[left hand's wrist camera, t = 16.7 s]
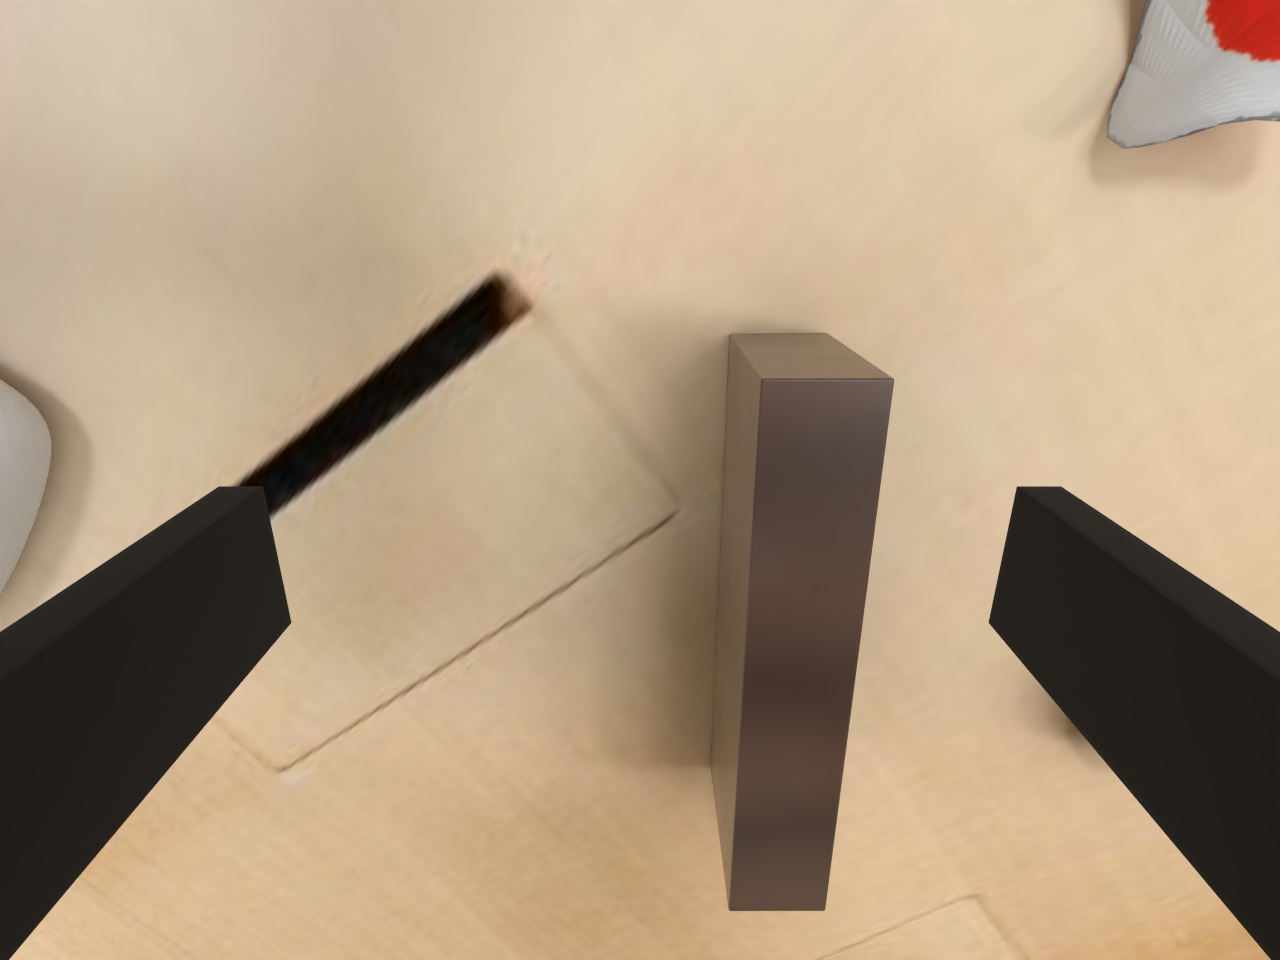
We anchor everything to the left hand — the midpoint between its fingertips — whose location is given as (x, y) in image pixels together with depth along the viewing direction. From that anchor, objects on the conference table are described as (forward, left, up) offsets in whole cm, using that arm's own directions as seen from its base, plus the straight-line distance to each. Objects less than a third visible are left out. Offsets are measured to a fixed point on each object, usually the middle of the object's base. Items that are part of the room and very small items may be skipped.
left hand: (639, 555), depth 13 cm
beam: (+14, +7, -25) cm, 29 cm away
